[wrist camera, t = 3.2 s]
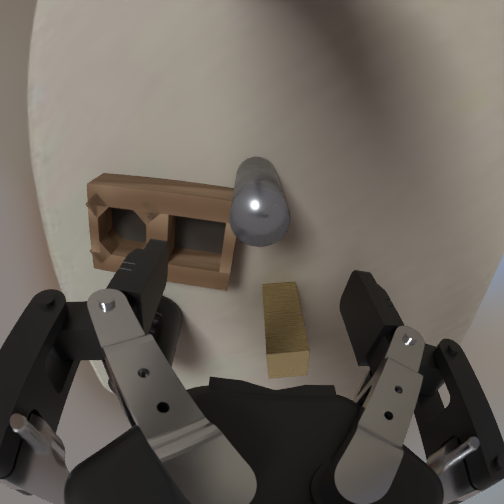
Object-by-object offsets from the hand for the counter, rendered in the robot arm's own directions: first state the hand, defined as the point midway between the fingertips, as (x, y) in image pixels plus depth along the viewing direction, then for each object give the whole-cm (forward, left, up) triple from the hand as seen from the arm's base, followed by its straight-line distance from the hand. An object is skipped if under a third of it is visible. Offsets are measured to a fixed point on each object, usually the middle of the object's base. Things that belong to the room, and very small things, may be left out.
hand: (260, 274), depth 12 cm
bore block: (+6, -8, -16) cm, 19 cm away
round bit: (0, 0, -16) cm, 16 cm away
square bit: (+13, +5, -16) cm, 21 cm away
